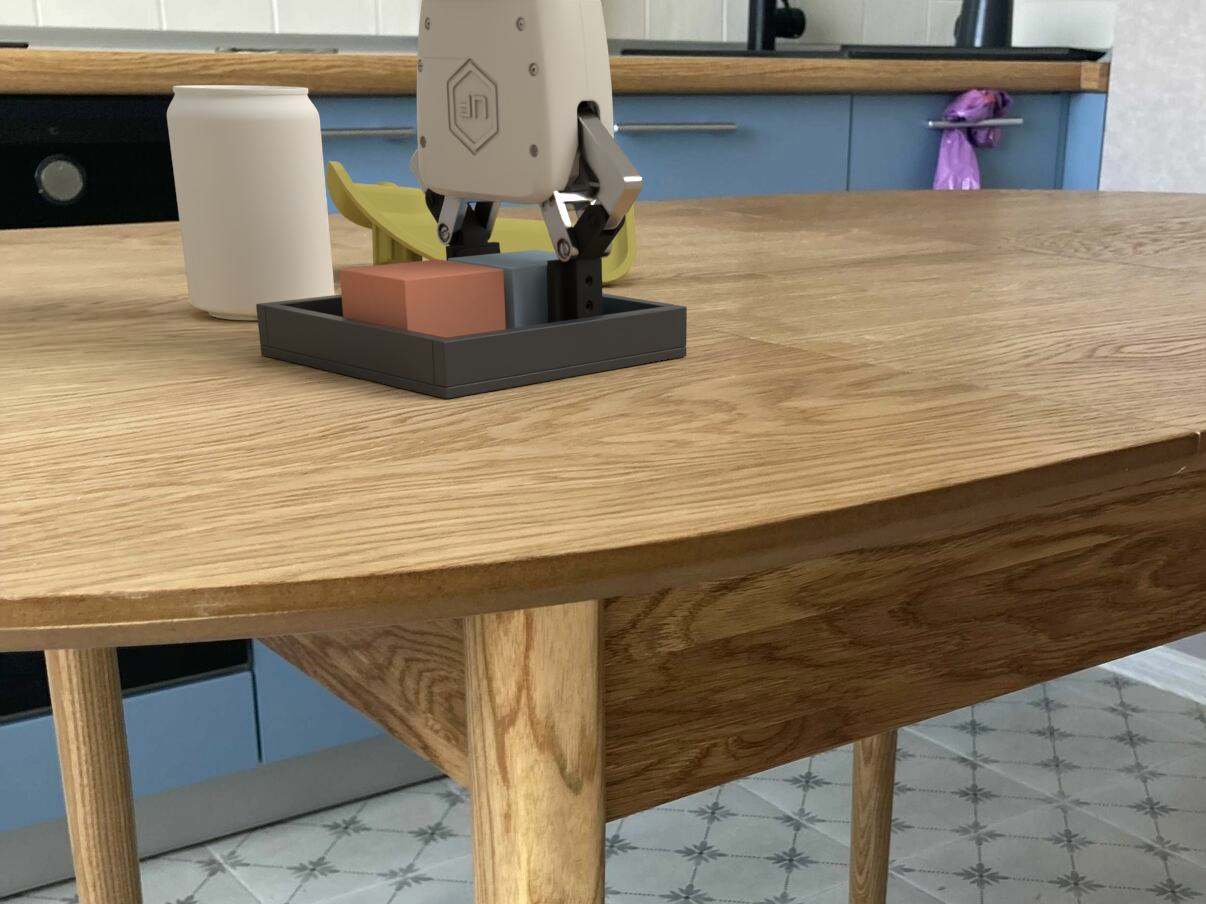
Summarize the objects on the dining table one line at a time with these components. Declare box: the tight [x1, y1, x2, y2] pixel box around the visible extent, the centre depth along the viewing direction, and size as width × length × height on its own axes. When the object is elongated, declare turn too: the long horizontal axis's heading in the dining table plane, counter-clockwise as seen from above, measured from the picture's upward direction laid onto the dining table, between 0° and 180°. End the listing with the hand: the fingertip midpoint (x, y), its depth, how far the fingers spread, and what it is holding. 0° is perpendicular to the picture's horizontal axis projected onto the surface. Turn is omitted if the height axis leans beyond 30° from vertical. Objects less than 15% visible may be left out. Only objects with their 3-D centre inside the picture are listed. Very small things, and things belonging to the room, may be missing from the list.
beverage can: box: [166, 84, 336, 321], centre depth 87 cm, size 8×8×12 cm
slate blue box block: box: [448, 250, 559, 329], centre depth 79 cm, size 5×6×4 cm
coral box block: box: [339, 259, 506, 338], centre depth 75 cm, size 5×6×4 cm
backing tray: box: [256, 292, 688, 400], centre depth 78 cm, size 15×16×2 cm
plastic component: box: [325, 160, 638, 287], centre depth 104 cm, size 20×7×10 cm
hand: (525, 328), depth 80 cm, fingers open, 7 cm apart
